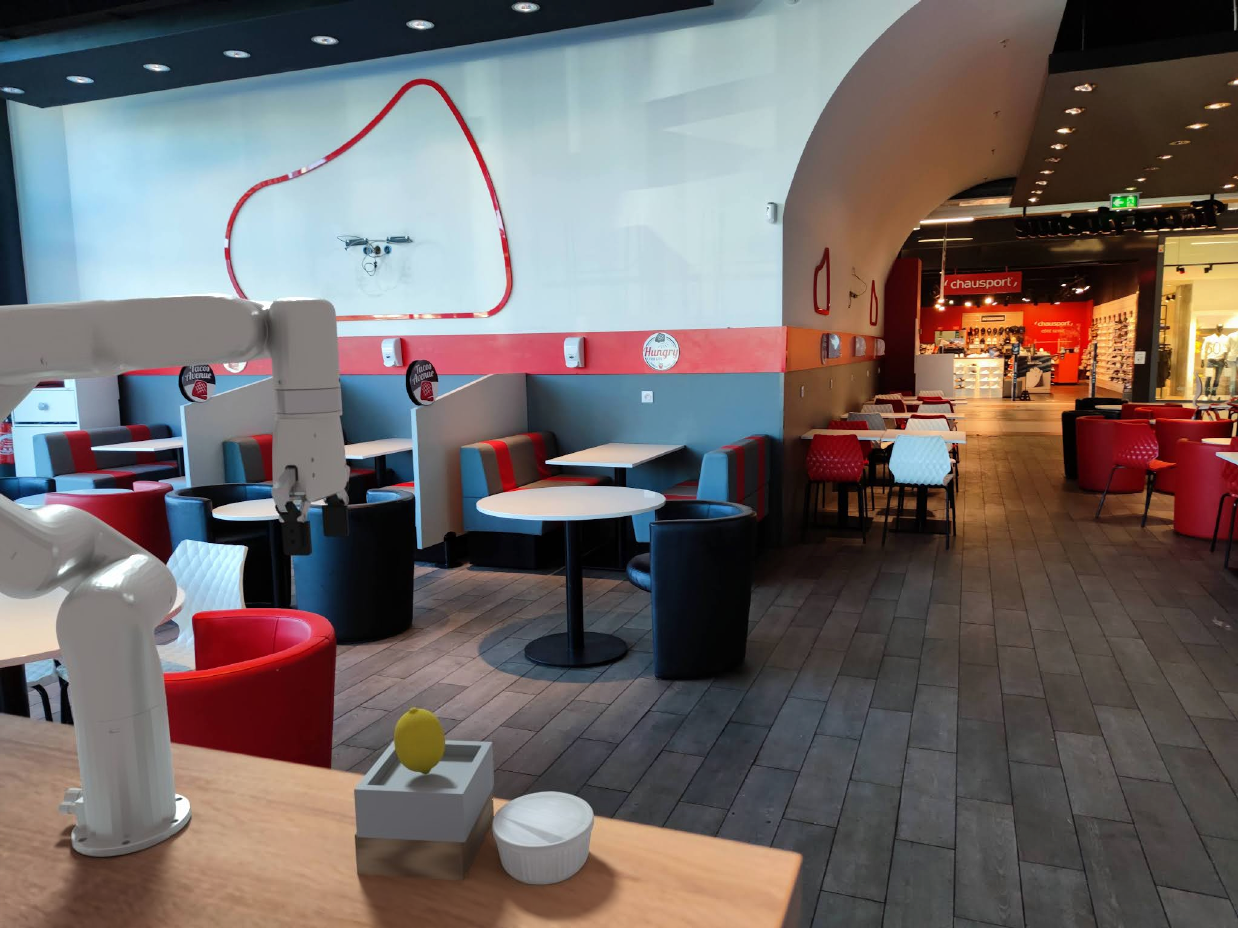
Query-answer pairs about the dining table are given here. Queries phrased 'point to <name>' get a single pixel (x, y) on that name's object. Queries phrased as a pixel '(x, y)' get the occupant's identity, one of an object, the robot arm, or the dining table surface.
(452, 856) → the tower bottom block
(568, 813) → the ramekin
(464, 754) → the tower top block
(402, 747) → the lemon
